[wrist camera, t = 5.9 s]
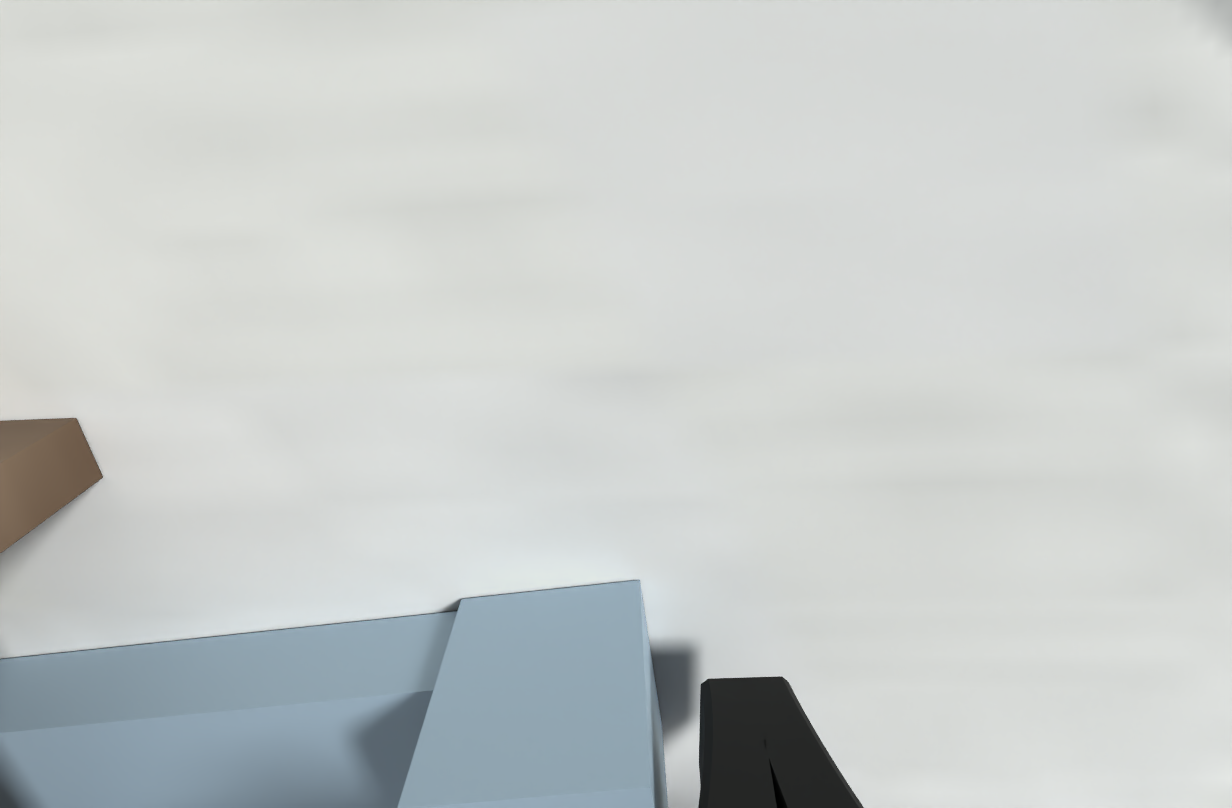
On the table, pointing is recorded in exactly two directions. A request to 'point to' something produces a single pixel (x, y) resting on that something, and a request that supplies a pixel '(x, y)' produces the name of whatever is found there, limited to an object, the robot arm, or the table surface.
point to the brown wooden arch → (40, 472)
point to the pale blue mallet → (352, 714)
